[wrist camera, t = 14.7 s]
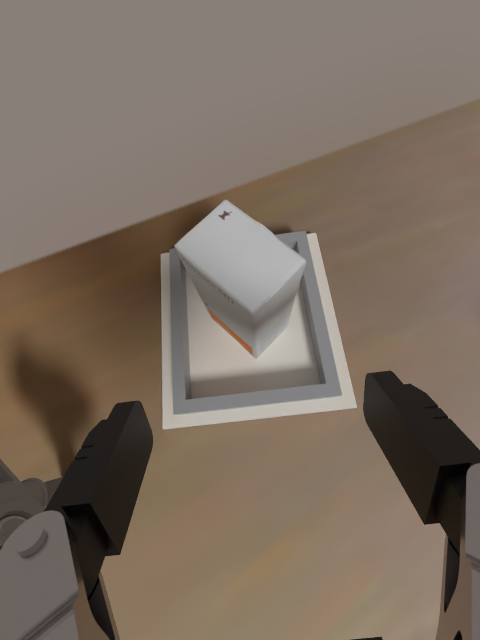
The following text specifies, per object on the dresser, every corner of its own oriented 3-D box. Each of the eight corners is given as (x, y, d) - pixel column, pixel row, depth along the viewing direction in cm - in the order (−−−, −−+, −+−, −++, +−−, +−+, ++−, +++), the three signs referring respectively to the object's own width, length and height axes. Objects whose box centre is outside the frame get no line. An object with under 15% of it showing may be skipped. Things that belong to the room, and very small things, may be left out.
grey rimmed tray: (166, 429, 24) (154, 430, 21) (163, 258, 30) (153, 242, 27) (353, 408, 24) (365, 406, 21) (314, 238, 29) (319, 219, 27)
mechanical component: (47, 430, 25) (-84, 437, 16) (128, 511, 22) (31, 579, 13) (21, 459, 24) (-131, 486, 15) (102, 547, 22) (-20, 646, 12)
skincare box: (209, 318, 26) (169, 243, 15) (240, 287, 27) (225, 194, 16) (256, 362, 25) (252, 315, 13) (289, 328, 25) (310, 256, 14)
